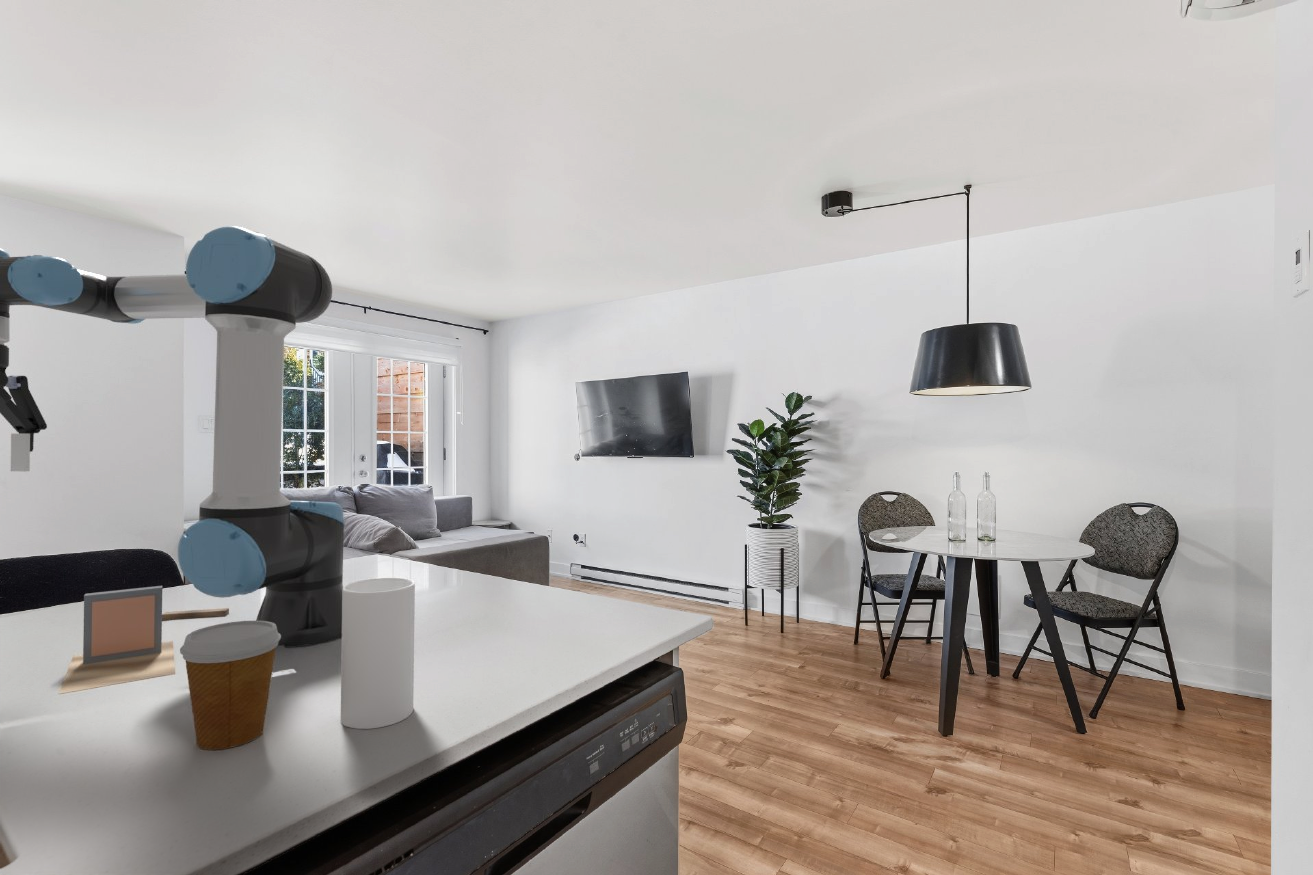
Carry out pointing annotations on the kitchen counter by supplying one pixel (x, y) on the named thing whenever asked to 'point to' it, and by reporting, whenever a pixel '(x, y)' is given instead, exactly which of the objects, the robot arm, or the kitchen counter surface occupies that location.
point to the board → (118, 670)
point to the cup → (377, 652)
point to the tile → (122, 624)
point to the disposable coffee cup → (230, 680)
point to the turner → (194, 614)
